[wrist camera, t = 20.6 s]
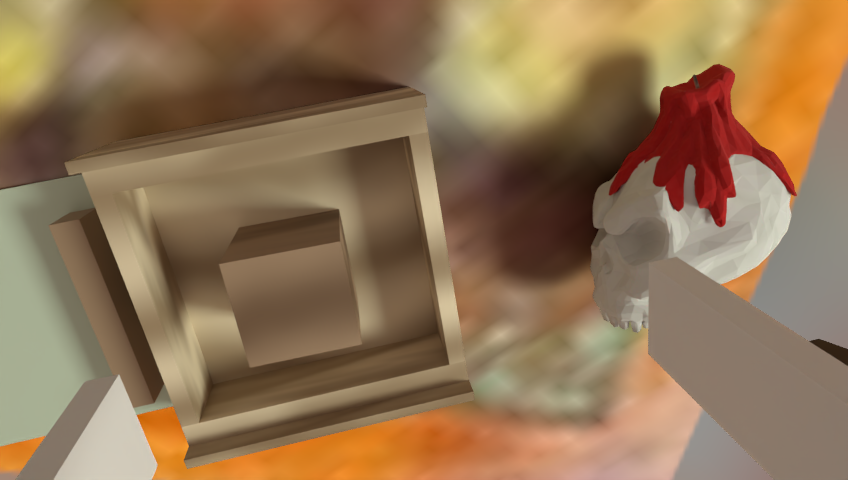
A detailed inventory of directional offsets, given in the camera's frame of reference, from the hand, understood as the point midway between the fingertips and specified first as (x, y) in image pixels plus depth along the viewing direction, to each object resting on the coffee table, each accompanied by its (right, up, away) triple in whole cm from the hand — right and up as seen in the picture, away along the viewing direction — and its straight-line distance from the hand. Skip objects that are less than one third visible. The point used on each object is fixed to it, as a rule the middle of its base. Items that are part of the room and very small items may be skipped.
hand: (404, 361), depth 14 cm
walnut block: (-7, +2, +20) cm, 22 cm away
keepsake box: (-7, +2, +21) cm, 22 cm away
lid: (-24, -2, +20) cm, 31 cm away
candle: (+16, +7, +23) cm, 29 cm away
